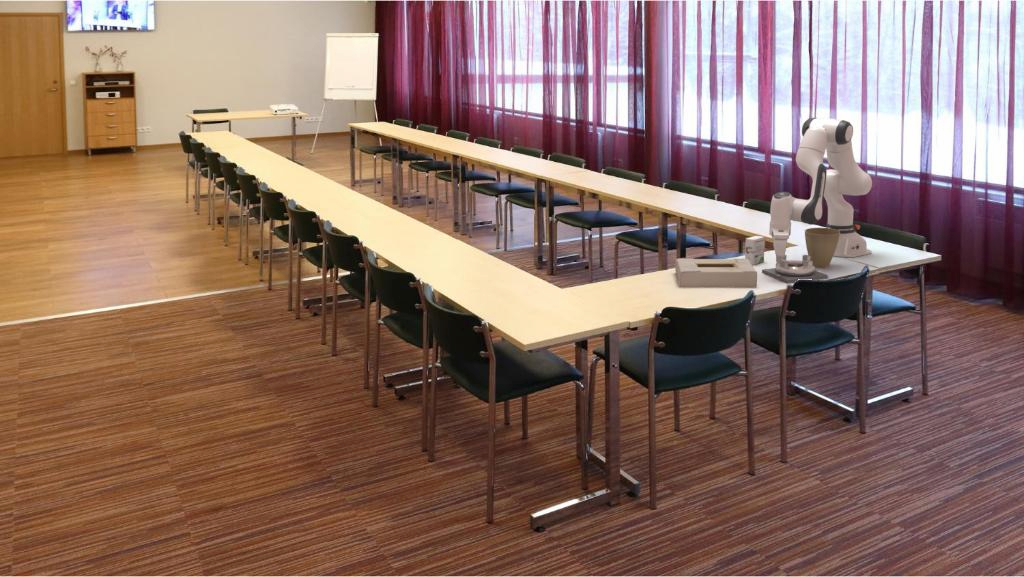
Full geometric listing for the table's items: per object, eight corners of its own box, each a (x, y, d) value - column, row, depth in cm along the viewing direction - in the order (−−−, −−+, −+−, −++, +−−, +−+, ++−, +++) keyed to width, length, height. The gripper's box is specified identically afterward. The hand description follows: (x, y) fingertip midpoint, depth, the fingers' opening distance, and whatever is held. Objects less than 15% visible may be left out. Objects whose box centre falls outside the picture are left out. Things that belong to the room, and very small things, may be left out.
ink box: (755, 260, 438) (756, 235, 435) (764, 262, 434) (765, 236, 431) (744, 263, 433) (745, 238, 430) (753, 265, 429) (754, 239, 426)
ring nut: (799, 265, 419) (800, 252, 418) (822, 274, 404) (823, 260, 403) (767, 269, 414) (768, 255, 413) (789, 277, 400) (790, 263, 398)
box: (748, 274, 417) (674, 273, 419) (749, 256, 414) (675, 256, 417) (757, 289, 394) (679, 288, 397) (758, 271, 392) (680, 270, 394)
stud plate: (801, 268, 422) (801, 264, 421) (827, 278, 404) (828, 274, 404) (761, 272, 416) (762, 269, 415) (787, 283, 398) (787, 279, 398)
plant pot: (795, 264, 429) (797, 229, 425) (822, 260, 434) (825, 226, 430) (817, 271, 416) (819, 235, 412) (844, 268, 421) (847, 232, 417)
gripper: (771, 225, 417) (769, 256, 420) (773, 235, 397) (771, 267, 401) (786, 226, 415) (784, 256, 419) (789, 236, 396) (787, 268, 400)
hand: (778, 262), depth 410 cm, fingers closed
